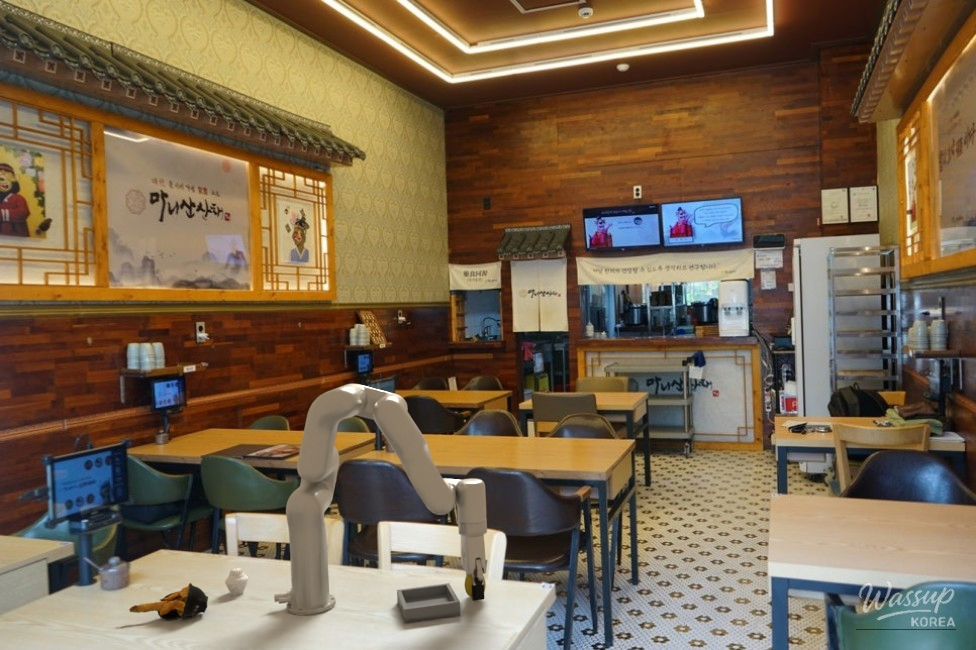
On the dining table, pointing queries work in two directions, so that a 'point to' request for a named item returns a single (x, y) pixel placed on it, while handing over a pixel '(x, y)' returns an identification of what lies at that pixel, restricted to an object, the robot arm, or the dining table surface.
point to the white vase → (236, 581)
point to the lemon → (471, 583)
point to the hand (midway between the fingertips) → (475, 594)
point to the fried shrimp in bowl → (177, 604)
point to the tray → (428, 603)
